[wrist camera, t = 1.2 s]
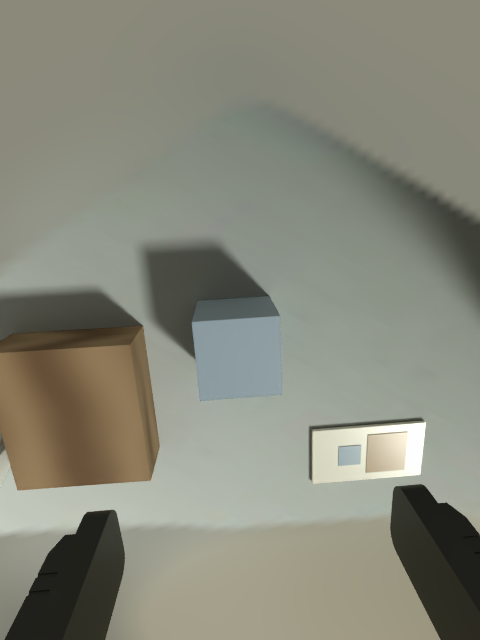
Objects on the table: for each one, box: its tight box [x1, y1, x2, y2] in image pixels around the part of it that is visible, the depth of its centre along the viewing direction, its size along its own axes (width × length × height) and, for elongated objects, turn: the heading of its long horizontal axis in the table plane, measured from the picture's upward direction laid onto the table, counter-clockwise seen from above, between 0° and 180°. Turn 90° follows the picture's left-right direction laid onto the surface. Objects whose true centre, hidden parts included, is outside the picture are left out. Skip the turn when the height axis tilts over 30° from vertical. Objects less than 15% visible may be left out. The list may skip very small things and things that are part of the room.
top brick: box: [192, 296, 282, 401], centre depth 23 cm, size 5×5×5 cm
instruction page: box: [312, 420, 426, 484], centre depth 29 cm, size 9×5×1 cm, turn 93°
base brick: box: [0, 326, 160, 490], centre depth 25 cm, size 9×10×4 cm
